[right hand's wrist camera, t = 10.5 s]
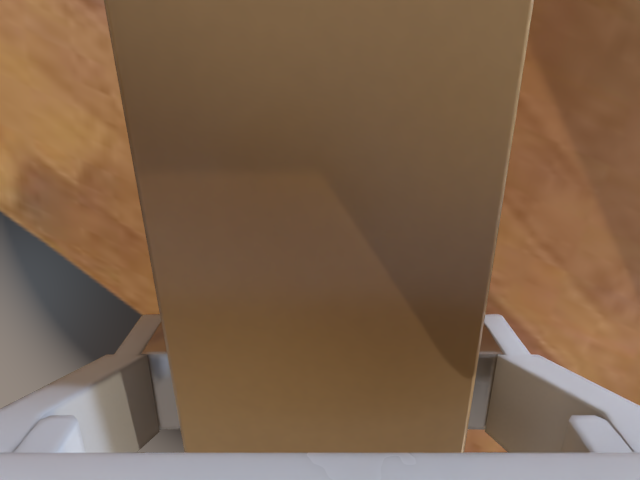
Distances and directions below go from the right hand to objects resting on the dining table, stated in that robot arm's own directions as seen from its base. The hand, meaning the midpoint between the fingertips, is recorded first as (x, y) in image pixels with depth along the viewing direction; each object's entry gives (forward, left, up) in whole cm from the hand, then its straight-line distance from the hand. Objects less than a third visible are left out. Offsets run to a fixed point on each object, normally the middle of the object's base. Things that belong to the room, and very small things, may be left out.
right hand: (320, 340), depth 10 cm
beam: (-9, -28, -3) cm, 29 cm away
